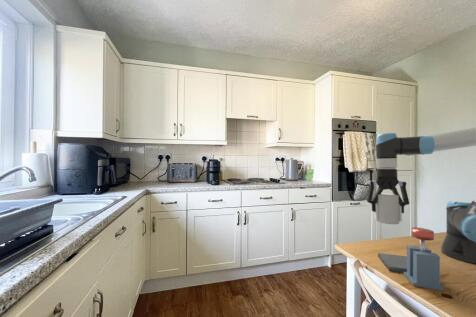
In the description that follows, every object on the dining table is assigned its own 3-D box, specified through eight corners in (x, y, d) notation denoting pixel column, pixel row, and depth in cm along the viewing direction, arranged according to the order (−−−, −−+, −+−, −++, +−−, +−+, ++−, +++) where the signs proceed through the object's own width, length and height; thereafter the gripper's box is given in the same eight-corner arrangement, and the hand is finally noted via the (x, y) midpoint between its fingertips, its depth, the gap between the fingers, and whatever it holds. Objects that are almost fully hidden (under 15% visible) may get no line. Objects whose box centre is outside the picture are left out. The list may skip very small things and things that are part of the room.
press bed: (411, 260, 86) (411, 256, 86) (428, 276, 75) (428, 271, 75) (377, 256, 90) (377, 252, 90) (388, 270, 78) (388, 266, 78)
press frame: (430, 278, 73) (430, 248, 73) (443, 290, 66) (443, 256, 66) (403, 274, 76) (403, 245, 76) (413, 285, 69) (413, 253, 69)
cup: (403, 224, 89) (402, 196, 89) (381, 223, 90) (381, 195, 91) (393, 219, 97) (392, 193, 97) (373, 218, 98) (373, 192, 99)
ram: (427, 258, 73) (427, 228, 73) (437, 266, 68) (437, 233, 68) (408, 256, 75) (408, 226, 75) (416, 263, 69) (416, 231, 69)
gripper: (410, 168, 94) (411, 219, 94) (358, 168, 101) (358, 215, 100) (419, 168, 87) (420, 224, 87) (362, 168, 93) (363, 220, 93)
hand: (387, 219), depth 94 cm, fingers closed on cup, 8 cm apart
